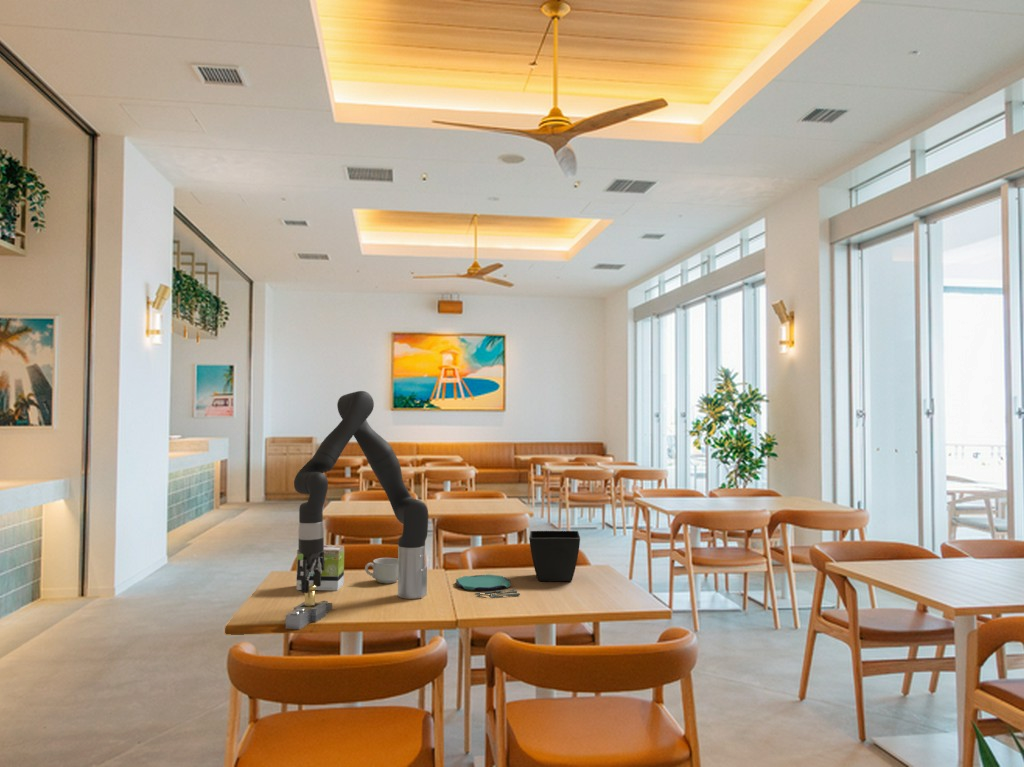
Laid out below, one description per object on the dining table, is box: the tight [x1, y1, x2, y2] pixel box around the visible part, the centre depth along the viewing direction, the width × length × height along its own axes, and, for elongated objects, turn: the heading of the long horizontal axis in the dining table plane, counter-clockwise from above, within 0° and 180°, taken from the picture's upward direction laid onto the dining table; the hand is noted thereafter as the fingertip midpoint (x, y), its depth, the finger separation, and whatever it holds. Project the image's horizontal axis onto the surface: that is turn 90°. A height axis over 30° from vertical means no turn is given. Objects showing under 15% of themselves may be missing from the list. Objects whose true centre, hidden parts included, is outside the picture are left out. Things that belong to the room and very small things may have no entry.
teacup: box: [364, 557, 398, 584], centre depth 286 cm, size 14×11×8 cm
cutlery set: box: [455, 574, 521, 599], centre depth 276 cm, size 20×30×2 cm, turn 17°
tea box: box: [296, 544, 345, 592], centre depth 277 cm, size 15×10×15 cm, turn 90°
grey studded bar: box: [285, 600, 333, 630], centre depth 236 cm, size 7×23×5 cm, turn 170°
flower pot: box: [528, 530, 581, 582], centre depth 293 cm, size 19×19×17 cm
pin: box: [304, 584, 316, 607], centre depth 236 cm, size 4×4×10 cm
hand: (311, 589), depth 236 cm, fingers open, 8 cm apart
